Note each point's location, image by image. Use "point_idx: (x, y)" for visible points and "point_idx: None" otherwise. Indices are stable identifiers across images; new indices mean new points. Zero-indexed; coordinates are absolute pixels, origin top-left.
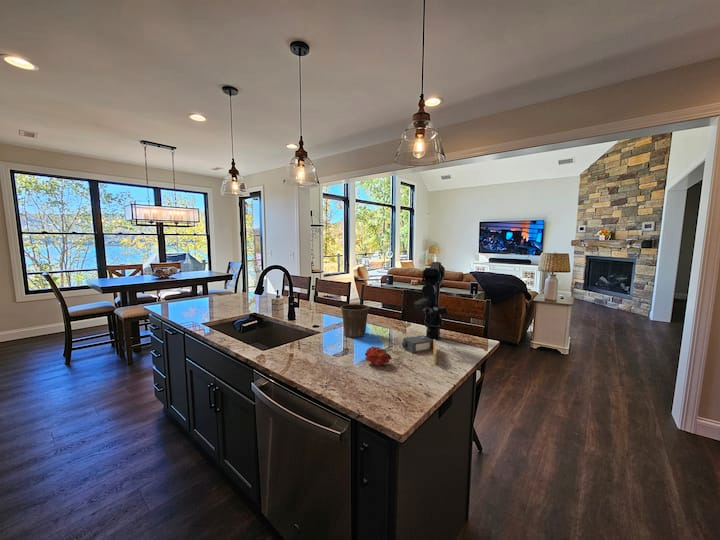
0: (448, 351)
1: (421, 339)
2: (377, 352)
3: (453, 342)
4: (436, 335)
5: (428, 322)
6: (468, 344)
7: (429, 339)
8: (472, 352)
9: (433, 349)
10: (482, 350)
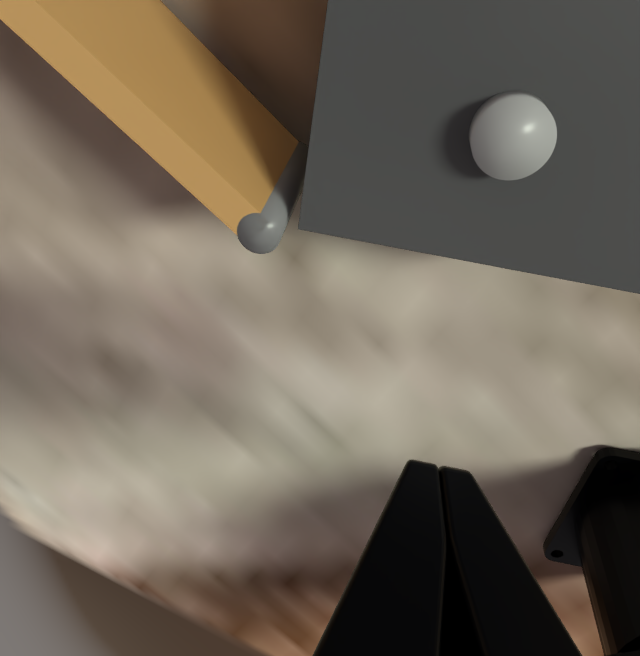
0: (175, 291)
1: (477, 16)
2: None
3: None
4: (591, 542)
5: (461, 514)
6: (248, 578)
7: (364, 190)
8: (55, 452)
9: (145, 21)
10: (71, 542)
